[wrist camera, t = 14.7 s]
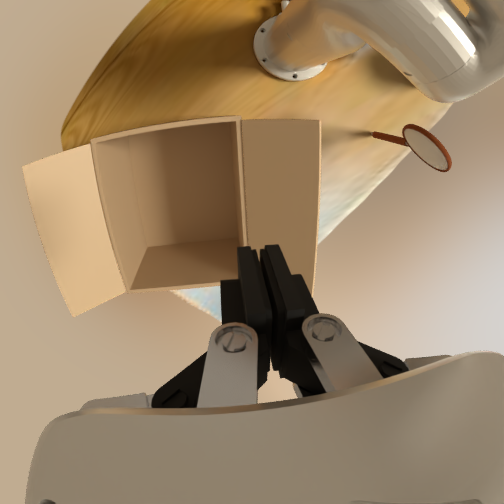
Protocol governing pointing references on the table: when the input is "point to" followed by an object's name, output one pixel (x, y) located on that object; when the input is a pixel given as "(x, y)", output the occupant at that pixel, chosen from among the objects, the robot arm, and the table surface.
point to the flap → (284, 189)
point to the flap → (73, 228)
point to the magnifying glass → (421, 146)
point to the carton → (174, 202)
